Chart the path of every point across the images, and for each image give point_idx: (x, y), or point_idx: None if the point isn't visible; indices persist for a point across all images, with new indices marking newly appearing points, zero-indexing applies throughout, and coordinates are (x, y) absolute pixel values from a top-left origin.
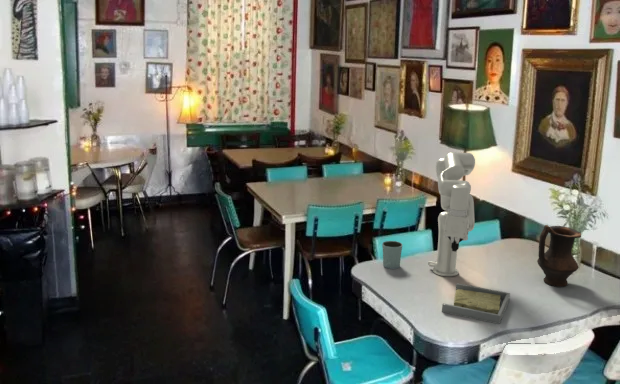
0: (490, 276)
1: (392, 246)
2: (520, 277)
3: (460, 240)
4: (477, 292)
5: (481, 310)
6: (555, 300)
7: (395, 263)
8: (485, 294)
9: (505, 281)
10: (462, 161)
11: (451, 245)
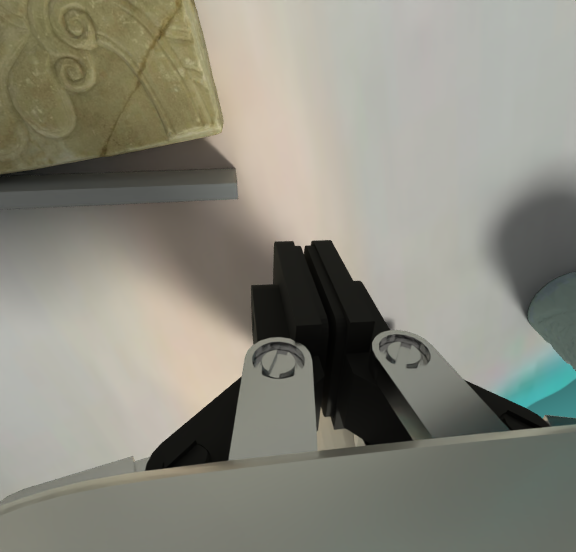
0: (152, 406)
1: None
2: (44, 452)
3: (211, 433)
4: (77, 146)
5: None
6: None
7: (569, 296)
8: (4, 126)
9: (73, 395)
10: None
11: (375, 305)
